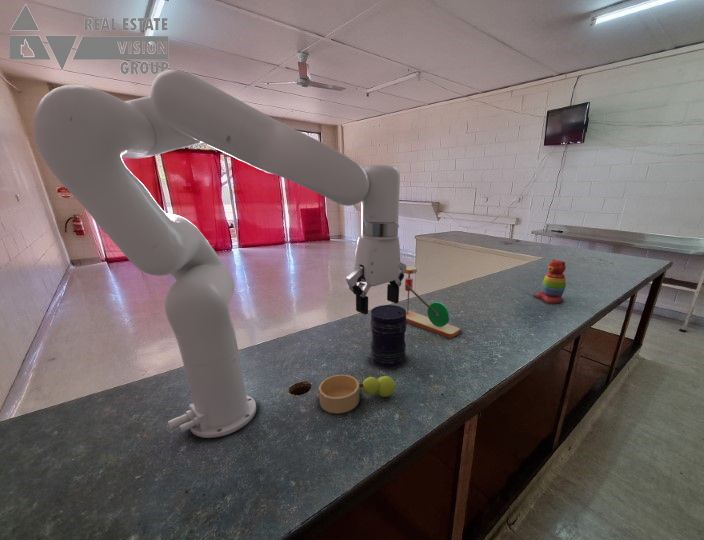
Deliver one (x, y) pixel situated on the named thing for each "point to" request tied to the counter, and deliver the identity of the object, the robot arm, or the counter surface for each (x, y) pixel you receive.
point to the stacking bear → (553, 283)
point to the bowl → (339, 393)
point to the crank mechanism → (429, 313)
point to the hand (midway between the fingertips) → (378, 306)
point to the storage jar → (388, 336)
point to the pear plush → (379, 386)
